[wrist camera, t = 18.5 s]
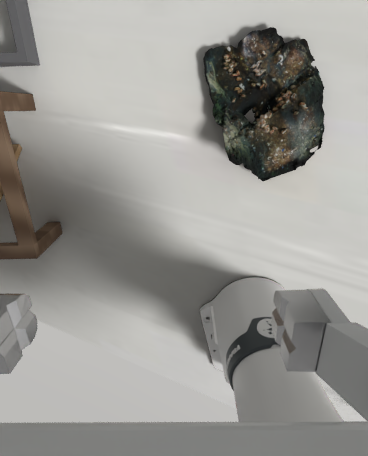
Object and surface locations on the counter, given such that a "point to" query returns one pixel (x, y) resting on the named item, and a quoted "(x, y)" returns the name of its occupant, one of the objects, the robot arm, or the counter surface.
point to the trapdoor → (17, 152)
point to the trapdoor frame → (19, 190)
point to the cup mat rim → (20, 36)
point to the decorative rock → (266, 102)
